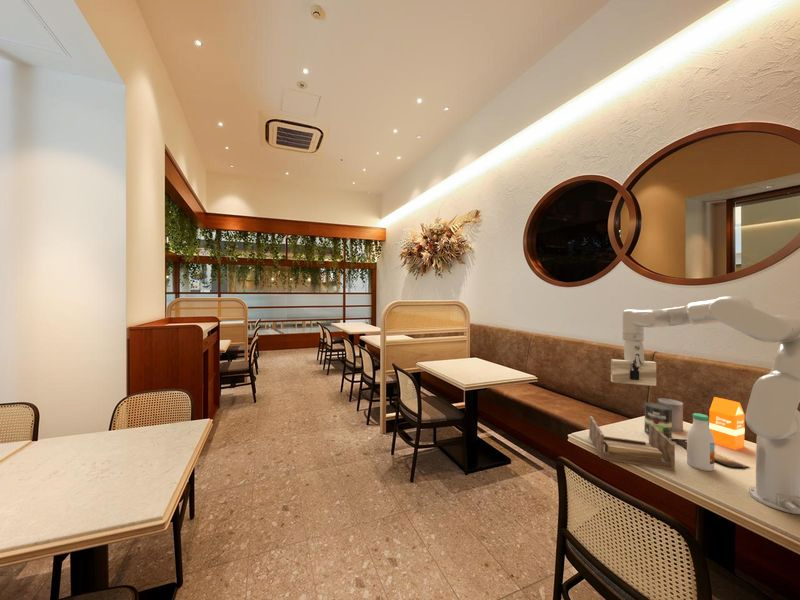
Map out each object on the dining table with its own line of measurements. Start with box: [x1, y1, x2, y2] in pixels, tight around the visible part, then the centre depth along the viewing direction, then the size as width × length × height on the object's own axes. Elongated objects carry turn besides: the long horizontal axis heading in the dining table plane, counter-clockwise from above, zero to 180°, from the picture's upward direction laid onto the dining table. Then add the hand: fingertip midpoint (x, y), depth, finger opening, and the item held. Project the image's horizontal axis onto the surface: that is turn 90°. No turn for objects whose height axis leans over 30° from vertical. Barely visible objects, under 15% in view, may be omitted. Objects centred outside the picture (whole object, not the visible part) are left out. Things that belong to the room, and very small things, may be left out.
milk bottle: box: [686, 412, 716, 472], centre depth 122 cm, size 8×8×20 cm
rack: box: [588, 415, 676, 472], centre depth 133 cm, size 22×24×10 cm
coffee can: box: [643, 402, 673, 440], centre depth 150 cm, size 10×10×14 cm
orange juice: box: [708, 396, 746, 450], centre depth 141 cm, size 8×9×20 cm
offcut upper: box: [605, 441, 662, 458], centre depth 127 cm, size 4×18×2 cm, turn 72°
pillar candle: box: [657, 397, 684, 433], centre depth 158 cm, size 10×10×15 cm
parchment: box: [670, 438, 749, 470], centre depth 132 cm, size 25×10×1 cm, turn 8°
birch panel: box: [610, 358, 657, 387], centre depth 140 cm, size 3×16×10 cm, turn 70°
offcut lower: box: [605, 447, 662, 461], centre depth 127 cm, size 4×18×2 cm, turn 69°
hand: (633, 378), depth 140 cm, fingers closed on birch panel, 3 cm apart
